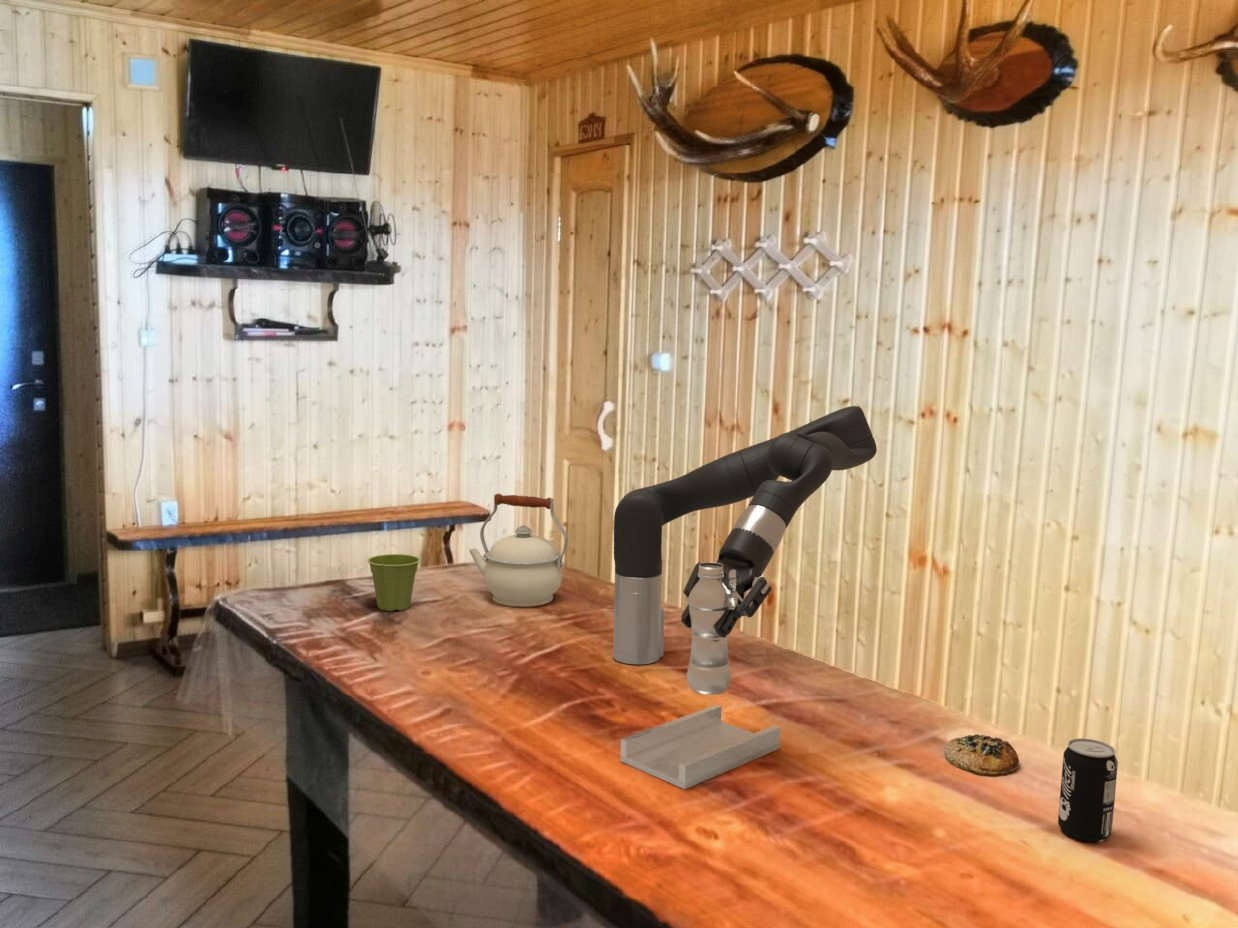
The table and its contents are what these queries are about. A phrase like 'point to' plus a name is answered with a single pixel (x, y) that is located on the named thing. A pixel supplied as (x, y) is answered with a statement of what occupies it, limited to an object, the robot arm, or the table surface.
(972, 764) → the bread roll
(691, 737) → the aluminium track
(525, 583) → the kettle
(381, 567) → the plant pot
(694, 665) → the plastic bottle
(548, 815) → the table surface
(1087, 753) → the beverage can
